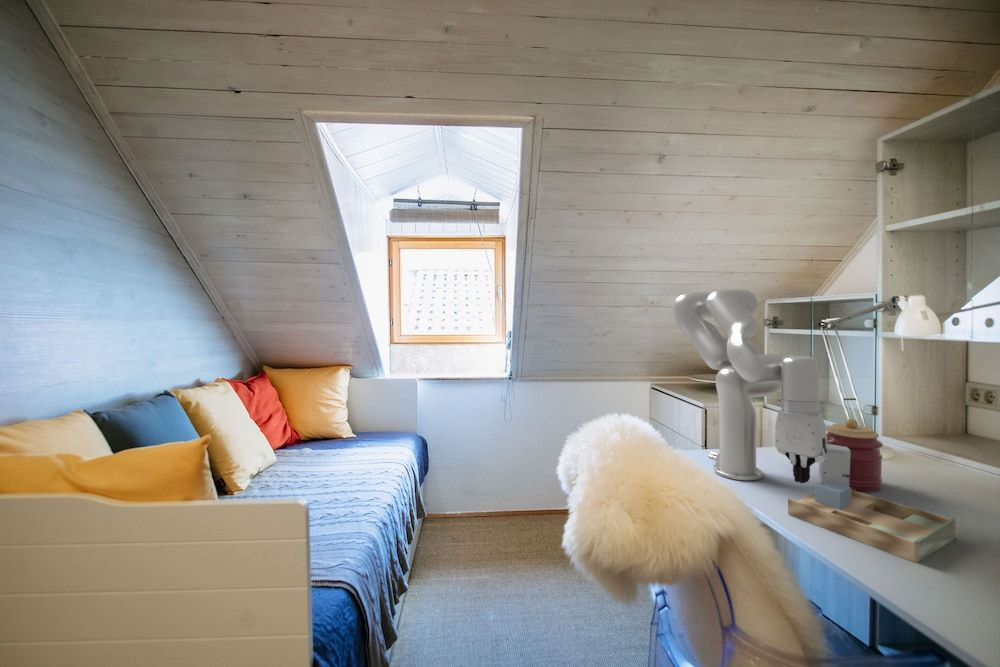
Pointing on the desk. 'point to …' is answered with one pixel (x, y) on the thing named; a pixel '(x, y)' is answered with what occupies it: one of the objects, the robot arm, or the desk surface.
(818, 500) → the block
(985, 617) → the desk surface
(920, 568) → the desk surface
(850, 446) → the canister
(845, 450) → the skincare box
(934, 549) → the box
